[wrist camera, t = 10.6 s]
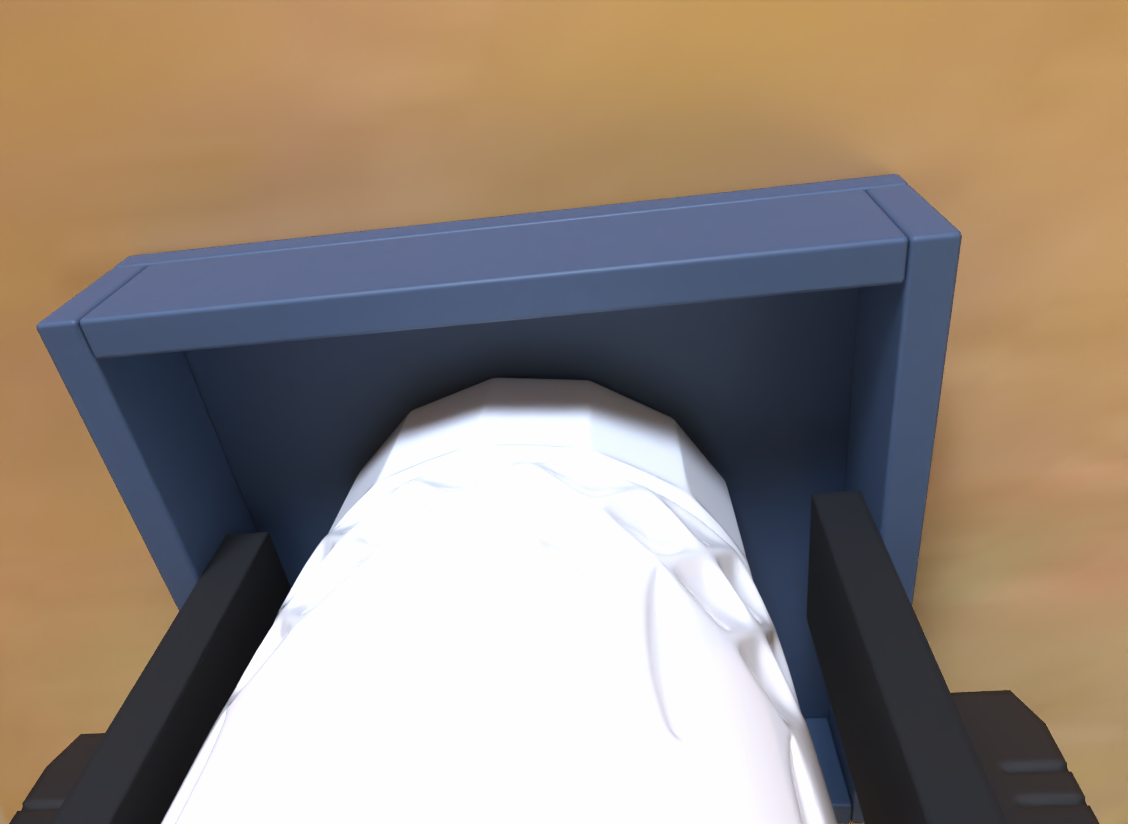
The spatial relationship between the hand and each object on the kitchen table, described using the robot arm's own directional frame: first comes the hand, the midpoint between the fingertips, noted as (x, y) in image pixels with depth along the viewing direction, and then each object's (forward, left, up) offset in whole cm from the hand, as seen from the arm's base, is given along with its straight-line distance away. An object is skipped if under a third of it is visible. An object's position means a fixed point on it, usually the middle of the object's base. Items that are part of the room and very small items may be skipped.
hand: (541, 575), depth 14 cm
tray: (0, 0, -1) cm, 1 cm away
